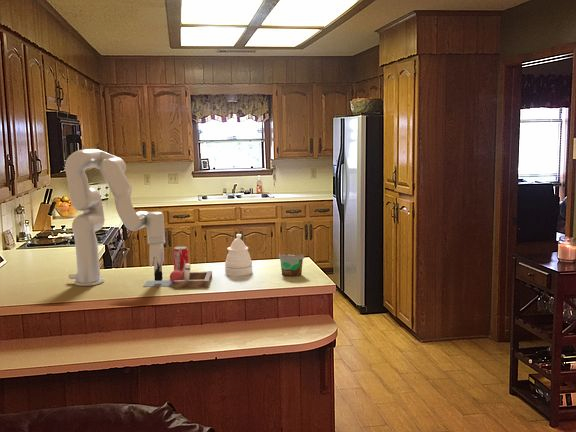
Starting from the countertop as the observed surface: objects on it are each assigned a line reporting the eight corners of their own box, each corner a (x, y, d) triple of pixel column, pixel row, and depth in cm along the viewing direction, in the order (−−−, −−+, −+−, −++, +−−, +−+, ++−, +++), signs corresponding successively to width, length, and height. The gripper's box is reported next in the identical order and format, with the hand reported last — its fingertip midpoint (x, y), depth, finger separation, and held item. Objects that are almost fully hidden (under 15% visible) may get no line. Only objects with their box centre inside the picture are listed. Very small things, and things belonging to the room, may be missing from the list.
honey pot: (230, 268, 280) (228, 232, 278) (255, 269, 278) (254, 233, 275) (221, 275, 268) (220, 237, 265) (248, 276, 265) (247, 238, 263)
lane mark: (143, 286, 250) (143, 286, 250) (147, 281, 259) (147, 280, 259) (202, 285, 251) (202, 284, 251) (204, 279, 260) (204, 279, 260)
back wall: (204, 287, 247) (203, 280, 247) (207, 277, 264) (207, 271, 263) (208, 287, 247) (208, 280, 247) (212, 277, 264) (211, 271, 264)
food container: (275, 276, 264) (274, 255, 263) (279, 273, 270) (279, 252, 268) (300, 278, 260) (299, 256, 259) (304, 274, 266) (304, 254, 264)
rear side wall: (178, 279, 261) (178, 273, 261) (179, 278, 263) (178, 272, 262) (207, 278, 262) (207, 272, 261) (207, 277, 263) (207, 271, 263)
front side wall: (174, 288, 247) (173, 281, 247) (174, 287, 249) (174, 280, 248) (204, 287, 248) (204, 280, 247) (204, 286, 249) (204, 279, 249)
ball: (183, 274, 251) (179, 287, 252) (186, 270, 257) (182, 282, 258) (170, 270, 250) (166, 283, 252) (173, 266, 256) (170, 279, 258)
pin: (182, 283, 254) (184, 264, 252) (183, 281, 256) (185, 263, 255) (188, 283, 254) (190, 265, 253) (189, 282, 256) (191, 263, 255)
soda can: (182, 271, 276) (181, 245, 274) (192, 273, 271) (191, 247, 269) (170, 274, 270) (169, 247, 268) (180, 276, 266) (179, 249, 264)
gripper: (151, 236, 259) (153, 276, 262) (144, 243, 244) (146, 285, 247) (167, 236, 259) (169, 275, 262) (162, 243, 244) (164, 284, 247)
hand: (158, 280), depth 254 cm, fingers closed
